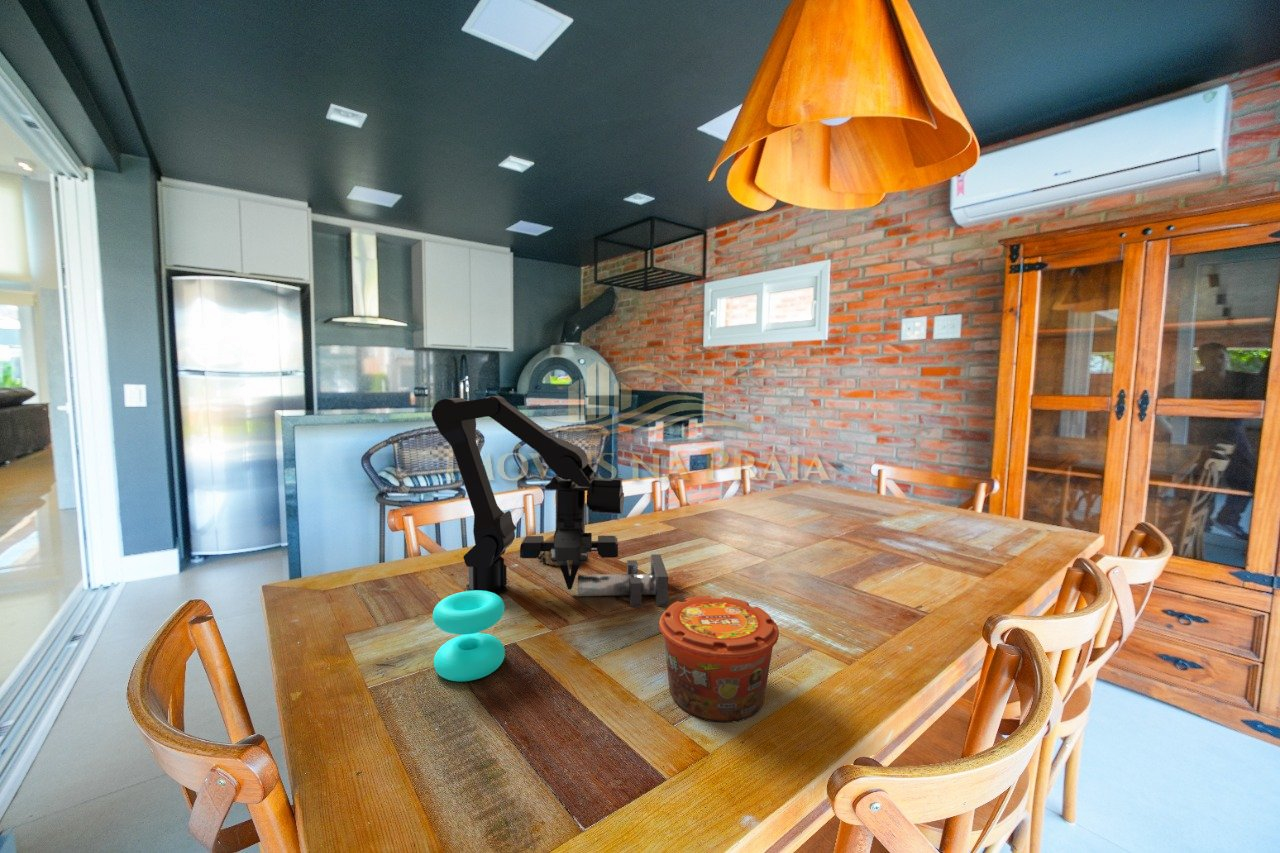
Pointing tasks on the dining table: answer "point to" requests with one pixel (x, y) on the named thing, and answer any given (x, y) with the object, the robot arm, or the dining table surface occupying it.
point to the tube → (614, 584)
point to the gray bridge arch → (660, 580)
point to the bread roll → (549, 555)
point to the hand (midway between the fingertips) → (569, 588)
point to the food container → (718, 656)
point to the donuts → (469, 635)
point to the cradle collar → (634, 584)
